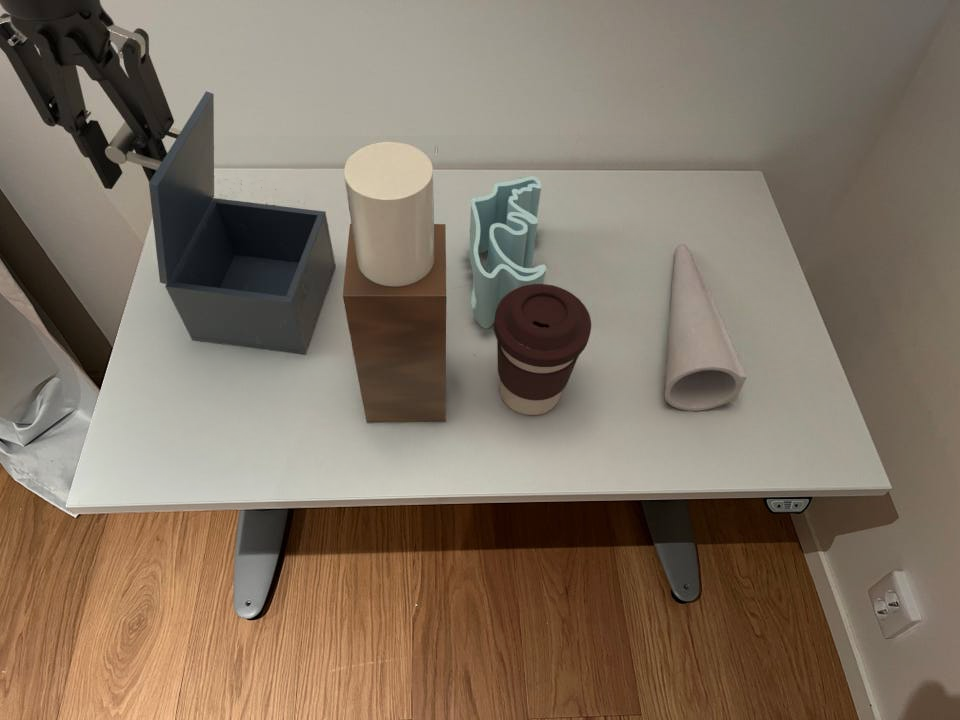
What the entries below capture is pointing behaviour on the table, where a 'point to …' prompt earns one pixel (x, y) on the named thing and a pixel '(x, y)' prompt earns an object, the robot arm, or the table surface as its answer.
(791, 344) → the table surface
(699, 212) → the table surface
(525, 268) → the squiggly pen holder
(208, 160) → the box lid
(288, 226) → the grey box
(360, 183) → the beige canister
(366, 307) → the stand
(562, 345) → the coffee cup
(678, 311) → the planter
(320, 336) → the table surface
